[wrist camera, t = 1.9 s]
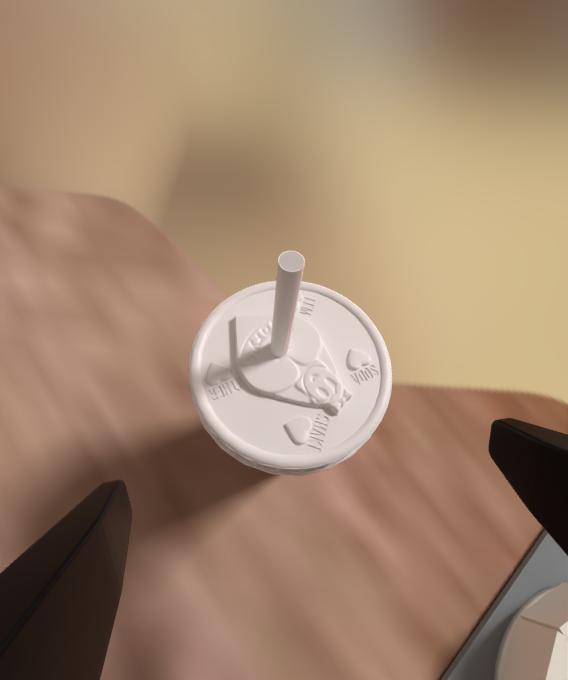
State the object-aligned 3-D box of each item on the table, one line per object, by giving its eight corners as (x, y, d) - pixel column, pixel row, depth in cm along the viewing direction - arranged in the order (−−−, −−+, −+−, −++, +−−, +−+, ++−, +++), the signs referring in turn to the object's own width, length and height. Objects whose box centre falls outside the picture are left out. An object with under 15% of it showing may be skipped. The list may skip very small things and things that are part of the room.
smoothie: (269, 357, 22) (291, 133, 10) (357, 428, 20) (519, 270, 8) (189, 440, 20) (78, 282, 7) (282, 528, 18) (350, 523, 6)
